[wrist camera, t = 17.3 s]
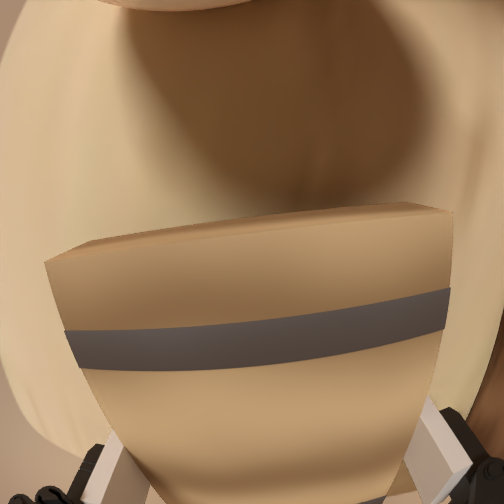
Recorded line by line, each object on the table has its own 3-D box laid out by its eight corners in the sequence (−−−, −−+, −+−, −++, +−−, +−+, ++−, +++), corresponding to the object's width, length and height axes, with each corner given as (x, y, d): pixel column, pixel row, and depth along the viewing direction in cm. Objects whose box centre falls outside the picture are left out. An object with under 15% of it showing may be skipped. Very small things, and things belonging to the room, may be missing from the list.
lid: (105, 234, 9) (42, 262, 6) (389, 199, 9) (454, 212, 6) (200, 487, 13) (193, 534, 10) (360, 471, 13) (374, 516, 9)
